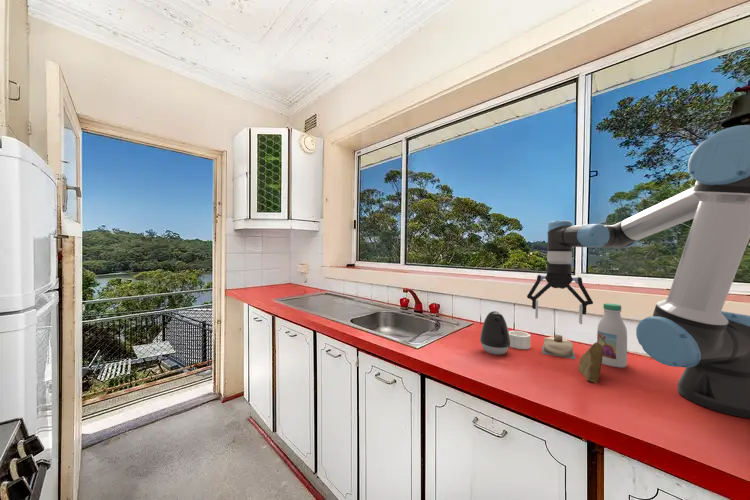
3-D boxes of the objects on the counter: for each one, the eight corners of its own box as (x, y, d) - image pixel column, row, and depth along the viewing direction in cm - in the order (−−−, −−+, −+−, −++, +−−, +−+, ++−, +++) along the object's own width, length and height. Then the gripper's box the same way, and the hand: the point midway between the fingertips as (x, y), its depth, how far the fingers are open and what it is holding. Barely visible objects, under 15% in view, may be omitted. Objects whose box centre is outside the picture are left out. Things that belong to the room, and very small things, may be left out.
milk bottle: (615, 359, 98) (616, 302, 98) (633, 369, 90) (634, 307, 90) (591, 358, 99) (592, 301, 99) (607, 368, 91) (608, 306, 91)
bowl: (529, 351, 105) (529, 338, 105) (506, 347, 109) (506, 334, 109) (530, 345, 112) (530, 332, 112) (508, 341, 116) (508, 329, 116)
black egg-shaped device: (482, 356, 100) (482, 313, 100) (478, 346, 110) (478, 307, 110) (513, 359, 98) (513, 315, 98) (506, 348, 108) (507, 309, 108)
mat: (575, 360, 97) (575, 359, 97) (542, 354, 102) (542, 353, 102) (573, 351, 106) (573, 350, 106) (542, 346, 111) (542, 345, 111)
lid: (574, 358, 98) (574, 341, 98) (543, 353, 102) (544, 336, 102) (571, 350, 106) (572, 334, 106) (543, 345, 110) (543, 330, 110)
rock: (608, 380, 77) (621, 367, 83) (585, 351, 81) (599, 340, 87) (573, 390, 85) (587, 377, 91) (554, 362, 89) (568, 352, 94)
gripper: (600, 263, 101) (598, 322, 101) (521, 261, 113) (520, 313, 114) (604, 265, 94) (602, 328, 95) (520, 262, 107) (519, 317, 107)
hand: (557, 320), depth 104 cm, fingers open, 13 cm apart
